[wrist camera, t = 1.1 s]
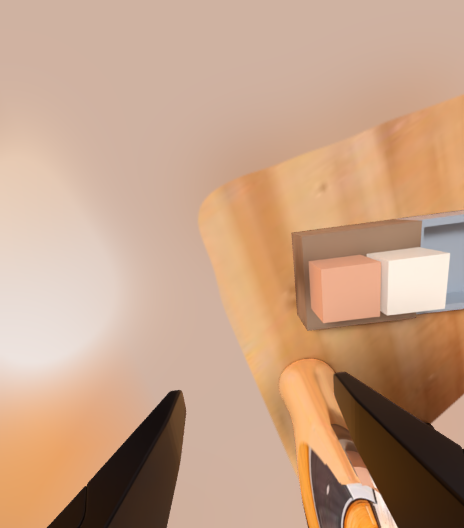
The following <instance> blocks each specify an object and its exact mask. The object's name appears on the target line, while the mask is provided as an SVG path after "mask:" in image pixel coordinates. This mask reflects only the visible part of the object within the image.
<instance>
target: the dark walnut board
mask: <svg viewBox="0 0 464 528" xmlns="http://www.w3.org/2000/svg"><path fill="white" fill-rule="evenodd" d="M421 231H422V221H418V220H398V219H392V220H385V221H377V222H370V223H362V224H355V225H347V226H340V227H332V228H324V229H317V230H309V231H302V232H294V233H292V245H293V260H294V274H295V288H296V302H297V315H298V316H299V318H300V319H301V321H302V323H303V324H304V326H305V327H306V329H307V331H309V330H317V329H326V328H334V327H342V326H351V325H359V324H368V323H376V322H385V321H393V320H401V319H410V318H416V312H413V313H405V314H396V315H388V316H387V315H386V314H384V313H383V312H381V311H380V317H371V318H363V319H354V320H346V321H338V322H329V323H323V322H322V321H321V320H320V319H319V317H318V316H317V315H316V314H315V312H314V311H313V310H312V309H311V297H310V279H309V261H315V260H323V259H330V258H338V257H346V256H354V255H363V256H366V257H367V254H369V253H377V252H385V251H393V250H401V249H408V248H416V247H421Z"/></svg>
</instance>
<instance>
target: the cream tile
mask: <svg viewBox="0 0 464 528" xmlns="http://www.w3.org/2000/svg"><path fill="white" fill-rule="evenodd" d="M367 257H369V258H371V259H374V260H377V261H380V262H381V295H380V311H381V312H383V313H384V314H386V315H387V316H388V315H396V314H405V313H413V312H421V311H430V310H438V309H445V302H446V292H447V282H448V271H449V261H450V253H447V252H442V251H437V250H432V249H426V248H421V247H416V248H408V249H401V250H393V251H385V252H377V253H369V254H367Z"/></svg>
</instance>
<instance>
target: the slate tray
mask: <svg viewBox="0 0 464 528" xmlns="http://www.w3.org/2000/svg"><path fill="white" fill-rule="evenodd" d="M398 220H418V221H422V231H421V248H426V249H432V250H437V251H442V252H447V253H450V261H449V271H448V282H447V292H446V302H445V309H438V310H430V311H421V312H416V314H424V313H432V312H441V311H449V310H458V309H464V210H460V211H453V212H445V213H437V214H430V215H422V216H415V217H407V218H400V219H398Z"/></svg>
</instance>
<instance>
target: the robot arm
mask: <svg viewBox="0 0 464 528" xmlns="http://www.w3.org/2000/svg"><path fill="white" fill-rule="evenodd" d="M333 384H334V396H335V399H336V401H337V404H338V406H339V408H340V411H341V413H342V416H343V418H344V421H345V423H346V425H347V428H348V430H349V433H350V435H351V437H352V440H353V442H354V444H355V447H356V449H357V451H358V453H359V455H360V457H361V458H362V460H363V462H364V464H365V466H366V468H367V470H368V472H369V474H370V476H371V478H372V479H373V481H374V483H375V485H376V487H377V489H378V491H379V493H380V495H381V497H382V499H383V500H384V502H385V504H386V506H387V508H388V510H389V512H390V514H391V516H392V518H393V520H394V521H395V523H396V525H397V527H398V528H464V449H462V447H461V446H460V445H458V444H456V443H455V442H453V441H452V440H450V439H449V438H447V437H446V436H444V435H442V434H441V433H439V432H438V431H436V430H435V429H434V427H433V426H432V425H431V424H430V423H424V422H422V421H421V420H419V419H418V418H416V417H415V416H413V415H412V414H410V413H408V412H407V411H405V410H404V409H402V408H401V407H399V406H398V405H396V404H395V403H393V402H391V401H390V400H388V399H387V398H385V397H384V396H382V395H381V394H379V393H377V392H376V391H374V390H373V389H371V388H370V387H368V386H367V385H365V384H364V383H362V382H360V381H359V380H357V379H356V378H354V377H353V376H351V375H350V374H348V373H346V372H337V373H334V375H333ZM185 418H186V407H185V402H184V397H183V393H182V391H181V390H175V391H171V392H169V393H168V394H167V395H166V397H165V398H164V399H163V400H162V401H161V402H160V403H159V404H158V405H157V407H156V408H155V409H154V410H153V411H152V412H151V413H150V414H149V416H148V417H147V418H146V419H145V420H144V421H143V422H142V423H141V424H140V425H139V427H138V428H137V429H136V430H135V431H134V432H133V433H132V434H131V436H130V437H129V438H128V439H127V440H126V441H125V442H124V443H123V445H122V446H121V447H120V448H119V449H118V450H117V451H116V452H115V453H114V454H113V456H112V457H111V458H110V459H109V460H108V461H107V462H106V463H105V465H104V466H103V467H102V468H101V469H100V470H99V471H98V472H97V473H96V475H95V476H94V477H93V478H92V479H91V480H90V481H89V482H88V484H87V486H85V487H84V488H83V489H82V490H81V491H80V492H79V493H78V494H77V496H76V497H75V498H74V499H73V500H72V501H71V502H70V503H69V504H68V506H67V507H66V508H65V509H64V510H63V511H62V512H61V513H60V514H59V515H58V516H57V517H56V519H54V521H53V522H52V523H51V524H50V525H49V526H48V527H47V528H167V523H168V519H169V514H170V509H171V504H172V499H173V495H174V490H175V486H176V481H177V476H178V471H179V465H180V459H181V452H182V444H183V435H184V426H185Z"/></svg>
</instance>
